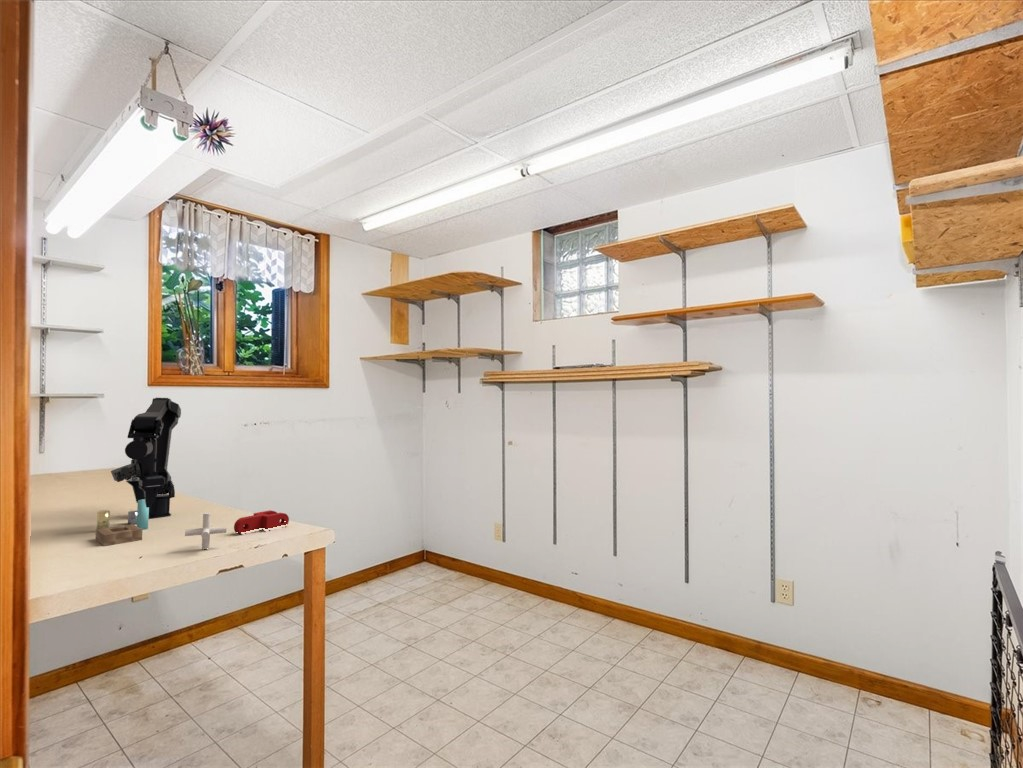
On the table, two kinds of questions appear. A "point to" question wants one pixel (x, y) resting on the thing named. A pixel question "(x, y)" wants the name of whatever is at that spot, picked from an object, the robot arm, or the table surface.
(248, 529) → the mechanical linkage
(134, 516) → the pin short
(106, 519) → the pin medium
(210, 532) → the pipe connector
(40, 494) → the table surface
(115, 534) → the hole block
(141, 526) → the pin long
